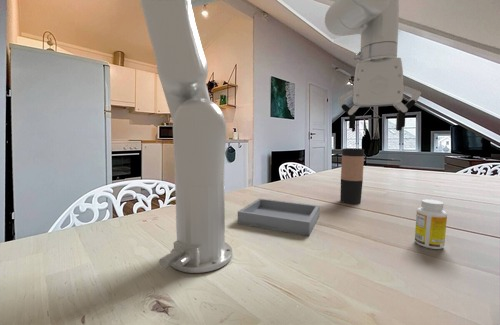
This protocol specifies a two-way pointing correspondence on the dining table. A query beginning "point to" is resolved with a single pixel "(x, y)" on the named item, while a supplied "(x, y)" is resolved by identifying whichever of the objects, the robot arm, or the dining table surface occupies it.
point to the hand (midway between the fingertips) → (375, 131)
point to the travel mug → (352, 175)
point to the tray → (280, 216)
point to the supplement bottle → (431, 224)
